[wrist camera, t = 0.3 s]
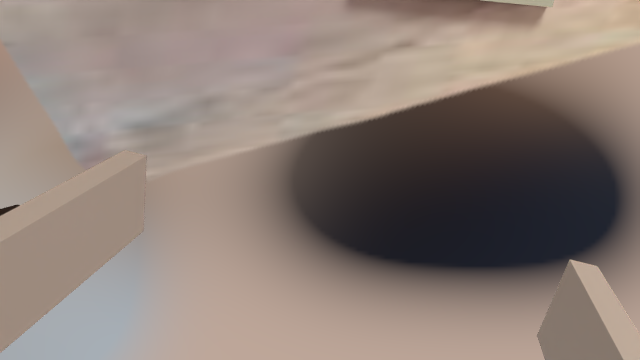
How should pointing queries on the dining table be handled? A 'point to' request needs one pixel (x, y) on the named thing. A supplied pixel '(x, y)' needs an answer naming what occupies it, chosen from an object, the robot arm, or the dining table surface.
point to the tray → (527, 2)
